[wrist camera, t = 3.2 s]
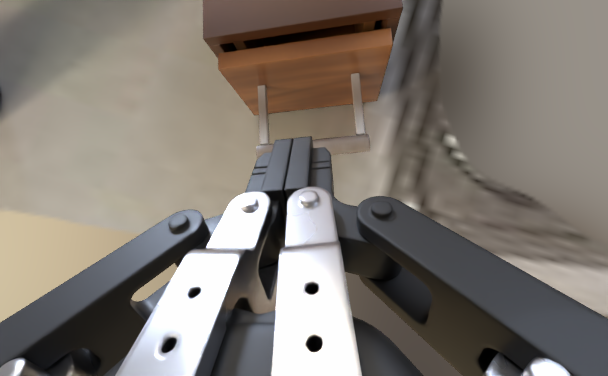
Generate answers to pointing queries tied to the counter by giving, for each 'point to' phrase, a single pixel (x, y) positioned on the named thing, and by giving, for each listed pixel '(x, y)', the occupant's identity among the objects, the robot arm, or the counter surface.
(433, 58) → the counter surface
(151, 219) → the counter surface
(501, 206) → the counter surface
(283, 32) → the cabinet
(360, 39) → the drawer
